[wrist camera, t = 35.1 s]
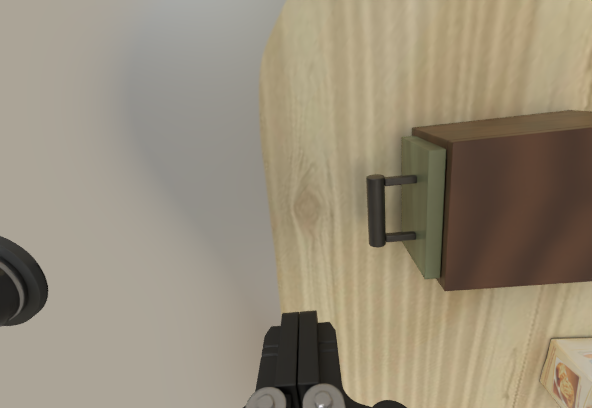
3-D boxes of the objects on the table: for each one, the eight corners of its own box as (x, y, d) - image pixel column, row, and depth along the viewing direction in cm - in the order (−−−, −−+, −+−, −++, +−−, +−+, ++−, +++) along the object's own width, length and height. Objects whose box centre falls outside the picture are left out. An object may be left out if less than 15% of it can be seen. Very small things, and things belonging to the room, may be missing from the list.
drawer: (362, 244, 31) (375, 282, 25) (357, 141, 28) (371, 156, 21) (531, 230, 30) (591, 267, 24) (549, 121, 27) (624, 130, 20)
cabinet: (410, 241, 32) (444, 291, 24) (412, 127, 28) (452, 142, 20) (549, 229, 31) (633, 278, 23) (570, 110, 27) (681, 117, 19)
